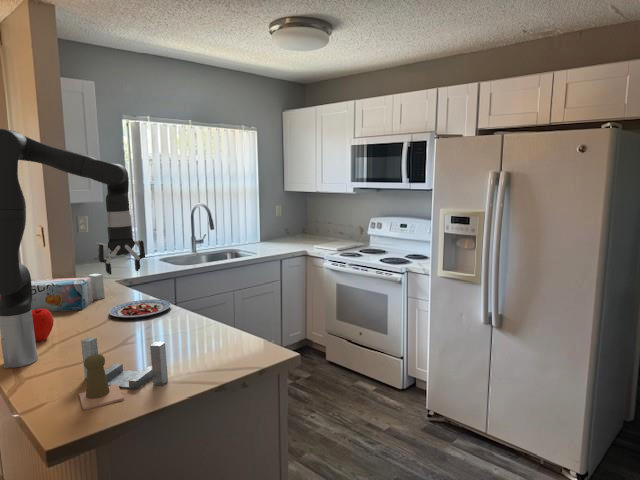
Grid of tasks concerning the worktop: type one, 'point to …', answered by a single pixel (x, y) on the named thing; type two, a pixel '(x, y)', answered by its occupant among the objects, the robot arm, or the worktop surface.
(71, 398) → the worktop surface
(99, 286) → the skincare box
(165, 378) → the grey u-shaped stand
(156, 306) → the ceramic plate
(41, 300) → the soda box
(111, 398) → the tile
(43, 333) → the apple
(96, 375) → the cork
